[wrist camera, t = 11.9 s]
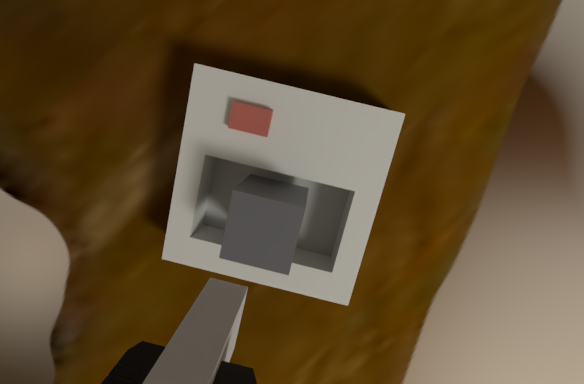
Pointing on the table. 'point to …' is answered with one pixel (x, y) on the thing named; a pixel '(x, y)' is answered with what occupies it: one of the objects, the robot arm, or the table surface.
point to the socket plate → (280, 175)
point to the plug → (264, 223)
